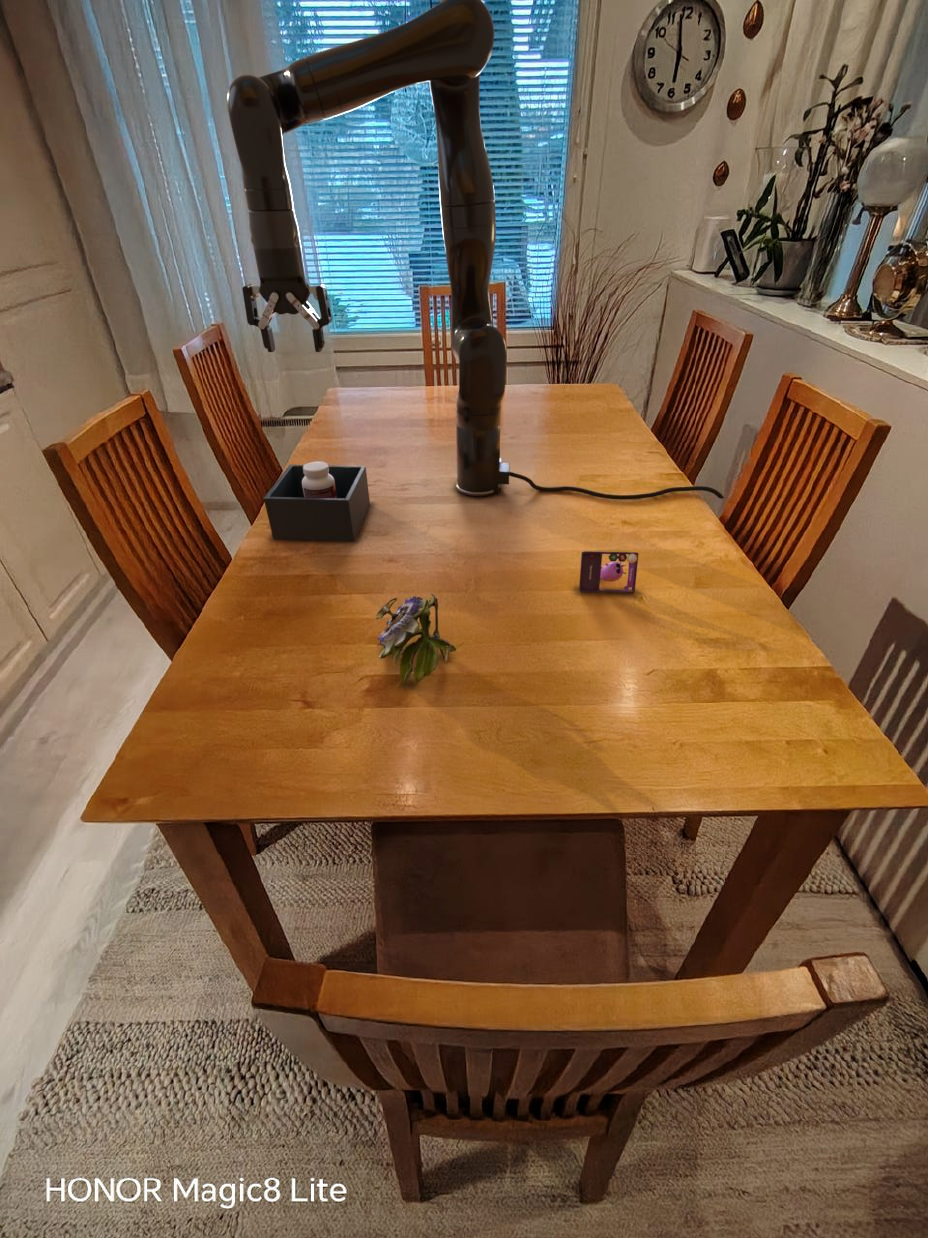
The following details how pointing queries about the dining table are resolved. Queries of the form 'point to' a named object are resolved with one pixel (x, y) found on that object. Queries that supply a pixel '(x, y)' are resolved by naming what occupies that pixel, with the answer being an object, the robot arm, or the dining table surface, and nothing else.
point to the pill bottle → (318, 481)
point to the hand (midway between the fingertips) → (295, 351)
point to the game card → (606, 570)
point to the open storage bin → (318, 506)
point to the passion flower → (405, 629)
